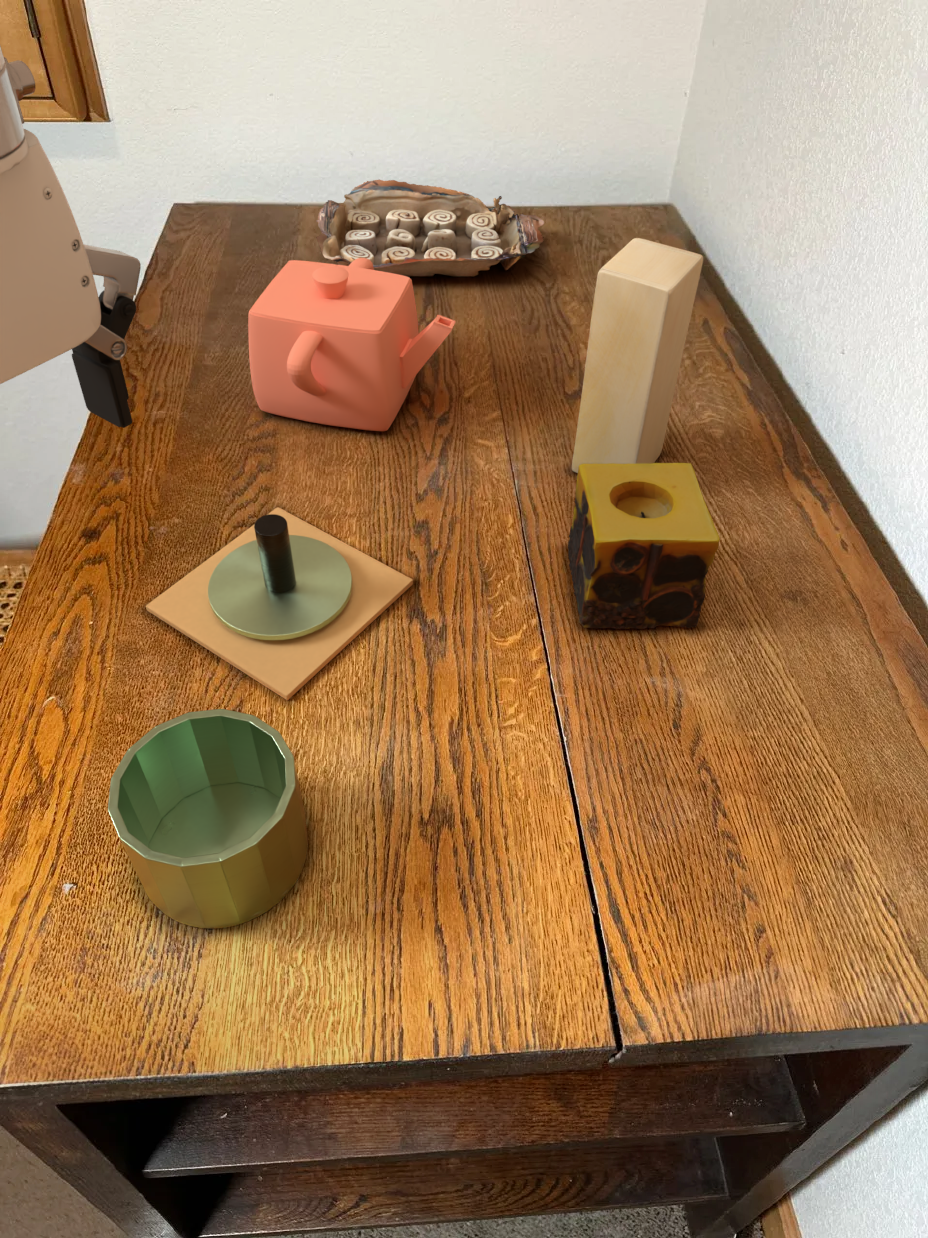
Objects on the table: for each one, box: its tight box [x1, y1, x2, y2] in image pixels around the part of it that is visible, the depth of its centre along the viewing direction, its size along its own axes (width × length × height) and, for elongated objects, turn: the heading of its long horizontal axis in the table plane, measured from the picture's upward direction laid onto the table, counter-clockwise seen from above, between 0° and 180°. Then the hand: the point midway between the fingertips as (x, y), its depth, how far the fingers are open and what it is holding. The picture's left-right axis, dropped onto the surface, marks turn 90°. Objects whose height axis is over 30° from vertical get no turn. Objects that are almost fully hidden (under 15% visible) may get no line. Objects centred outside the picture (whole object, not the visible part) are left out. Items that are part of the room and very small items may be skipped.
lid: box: [208, 513, 352, 640], centre depth 77 cm, size 12×12×8 cm
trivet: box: [145, 506, 414, 701], centre depth 80 cm, size 16×16×1 cm
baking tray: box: [315, 179, 545, 277], centre depth 122 cm, size 30×22×5 cm
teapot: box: [247, 258, 456, 432], centre depth 95 cm, size 20×22×14 cm
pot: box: [107, 708, 309, 930], centre depth 61 cm, size 11×11×8 cm
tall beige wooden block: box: [571, 237, 704, 474], centre depth 86 cm, size 8×7×21 cm
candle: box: [567, 462, 721, 630], centre depth 78 cm, size 10×10×10 cm
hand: (39, 457), depth 51 cm, fingers open, 9 cm apart
